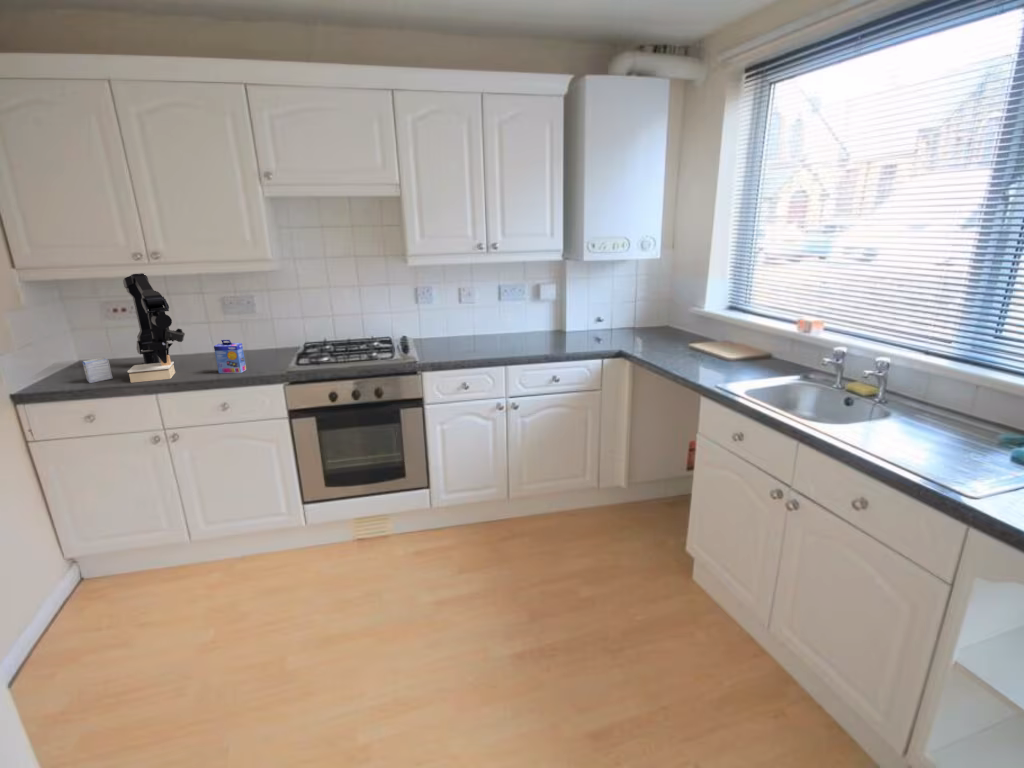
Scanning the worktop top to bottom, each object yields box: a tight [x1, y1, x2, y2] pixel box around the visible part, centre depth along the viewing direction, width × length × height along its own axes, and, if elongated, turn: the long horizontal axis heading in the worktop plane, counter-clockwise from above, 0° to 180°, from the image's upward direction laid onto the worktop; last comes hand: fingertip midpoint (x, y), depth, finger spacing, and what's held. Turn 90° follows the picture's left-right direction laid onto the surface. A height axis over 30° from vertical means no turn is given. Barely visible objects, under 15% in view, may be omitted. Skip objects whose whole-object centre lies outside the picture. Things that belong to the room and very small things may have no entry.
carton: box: [128, 364, 176, 384], centre depth 224 cm, size 10×14×4 cm
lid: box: [127, 354, 175, 374], centre depth 223 cm, size 10×14×5 cm
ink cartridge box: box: [213, 339, 247, 374], centre depth 229 cm, size 10×6×14 cm, turn 93°
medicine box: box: [81, 357, 113, 384], centre depth 221 cm, size 8×4×9 cm, turn 141°
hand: (166, 362), depth 225 cm, fingers closed on lid, 2 cm apart
